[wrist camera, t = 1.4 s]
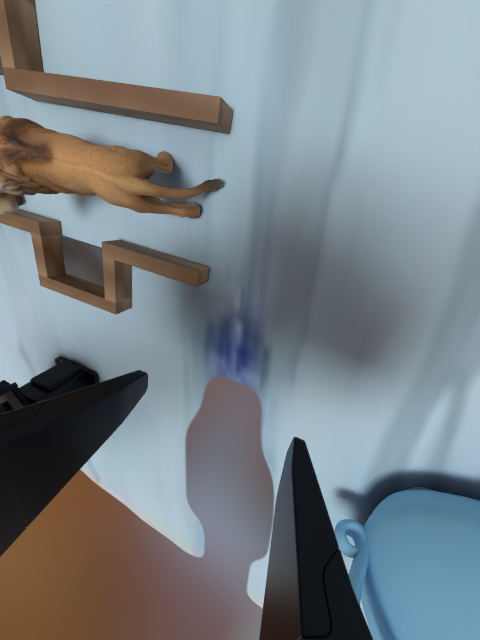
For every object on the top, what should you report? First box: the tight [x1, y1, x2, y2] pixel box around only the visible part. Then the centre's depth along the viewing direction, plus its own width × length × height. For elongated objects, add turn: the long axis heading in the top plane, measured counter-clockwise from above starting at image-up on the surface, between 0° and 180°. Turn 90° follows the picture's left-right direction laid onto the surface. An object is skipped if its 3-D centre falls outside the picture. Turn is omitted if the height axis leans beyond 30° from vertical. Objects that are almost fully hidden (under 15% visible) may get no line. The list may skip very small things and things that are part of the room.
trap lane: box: [0, 0, 233, 314], centre depth 21 cm, size 22×36×2 cm, turn 78°
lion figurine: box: [0, 116, 222, 218], centre depth 15 cm, size 15×5×9 cm, turn 89°
